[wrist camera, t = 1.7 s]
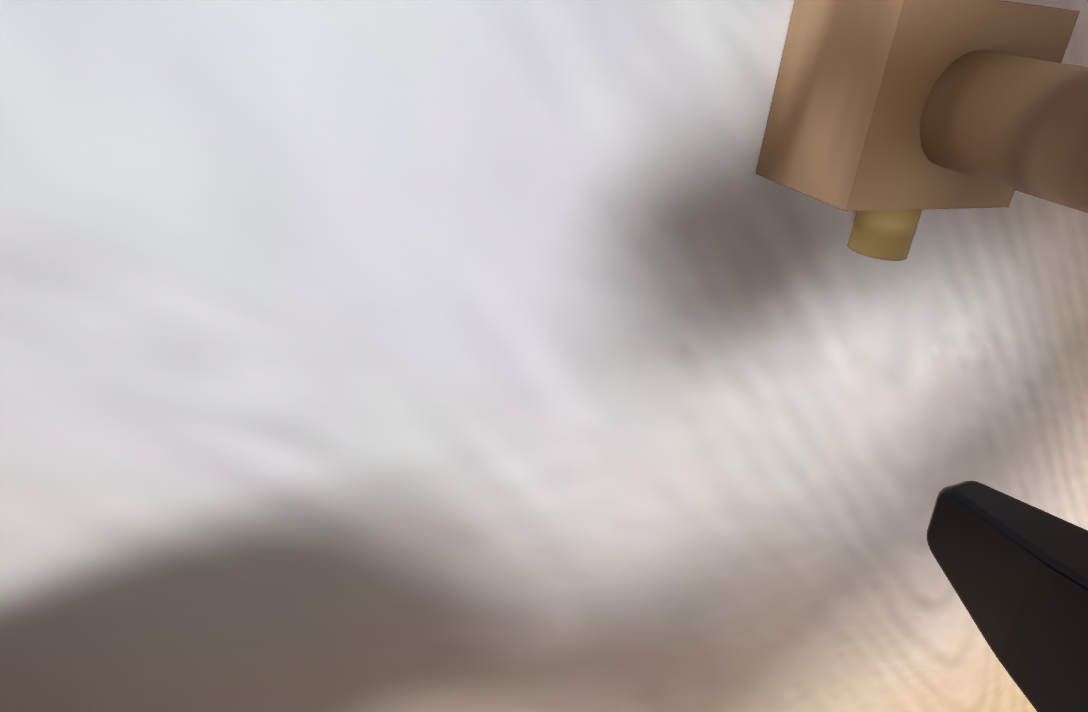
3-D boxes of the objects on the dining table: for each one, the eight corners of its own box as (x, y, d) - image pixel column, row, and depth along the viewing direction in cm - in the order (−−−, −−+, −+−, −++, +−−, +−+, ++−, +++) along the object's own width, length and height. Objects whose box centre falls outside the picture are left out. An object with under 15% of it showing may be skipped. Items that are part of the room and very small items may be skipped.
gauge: (894, 223, 26) (1409, 433, 16) (743, 228, 24) (1238, 483, 13) (963, -2, 23) (1646, 74, 13) (799, -24, 21) (1486, 49, 10)
